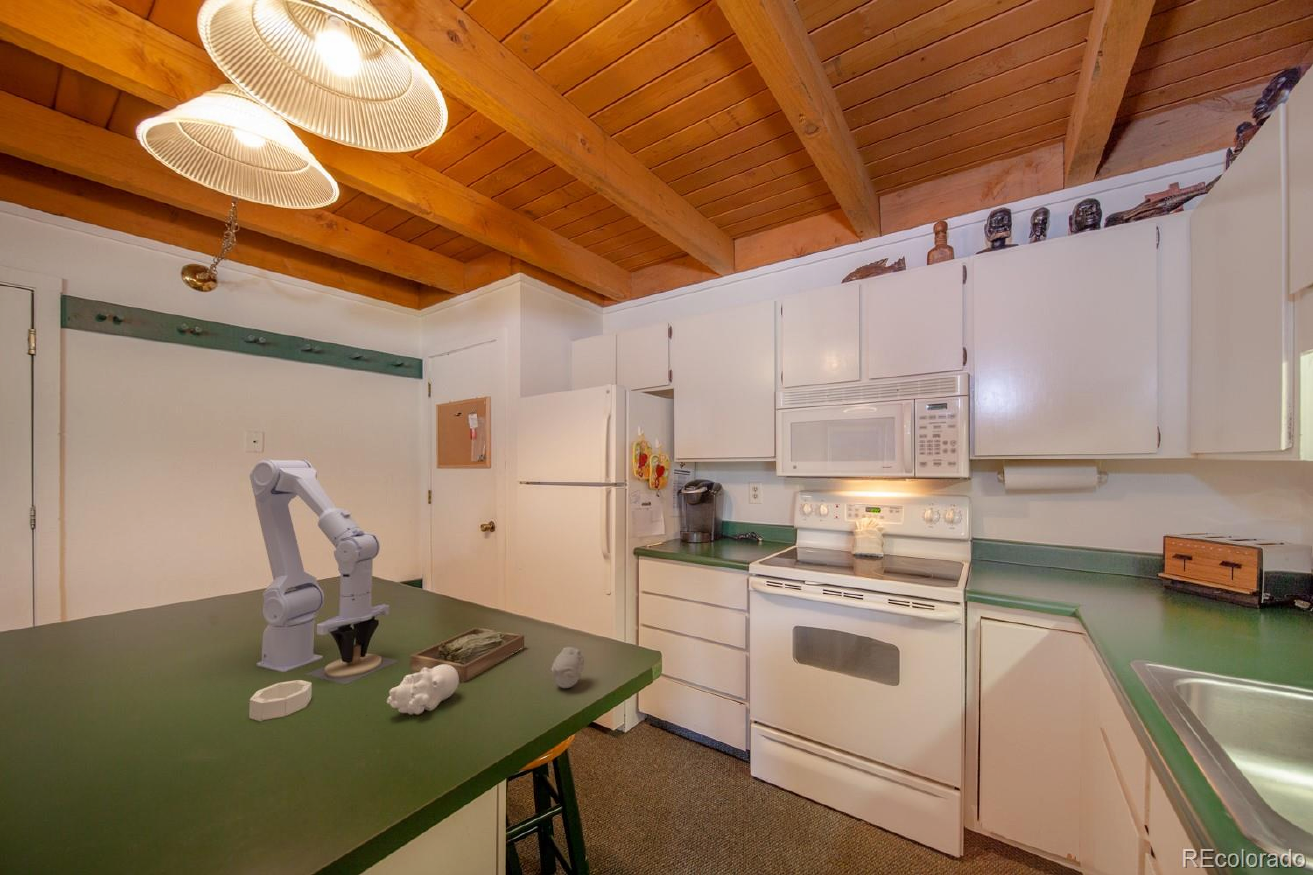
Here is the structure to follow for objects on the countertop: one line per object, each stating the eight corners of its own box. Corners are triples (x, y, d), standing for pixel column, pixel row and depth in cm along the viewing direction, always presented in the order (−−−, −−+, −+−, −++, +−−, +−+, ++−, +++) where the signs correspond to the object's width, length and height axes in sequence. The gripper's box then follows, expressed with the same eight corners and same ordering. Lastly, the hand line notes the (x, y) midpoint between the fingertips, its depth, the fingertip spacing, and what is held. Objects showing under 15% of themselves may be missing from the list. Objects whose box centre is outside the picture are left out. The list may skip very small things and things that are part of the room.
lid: (313, 672, 97) (313, 651, 98) (359, 654, 107) (360, 635, 107) (346, 681, 94) (347, 658, 94) (392, 661, 103) (392, 641, 103)
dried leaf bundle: (452, 678, 96) (452, 650, 96) (432, 664, 103) (432, 638, 103) (516, 656, 107) (516, 632, 107) (494, 645, 113) (494, 622, 114)
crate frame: (409, 670, 99) (409, 655, 99) (474, 639, 116) (475, 627, 116) (463, 682, 94) (464, 666, 94) (524, 648, 111) (524, 635, 111)
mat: (304, 675, 97) (304, 674, 97) (360, 653, 108) (361, 652, 108) (344, 685, 92) (344, 684, 92) (399, 662, 103) (399, 660, 103)
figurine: (472, 684, 87) (412, 709, 77) (453, 706, 89) (392, 733, 78) (455, 651, 90) (395, 671, 80) (437, 673, 92) (376, 695, 81)
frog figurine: (590, 681, 94) (591, 645, 94) (570, 697, 87) (570, 658, 88) (565, 676, 96) (565, 640, 97) (543, 690, 90) (543, 653, 90)
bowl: (240, 714, 82) (241, 696, 82) (291, 694, 89) (292, 677, 89) (269, 724, 79) (270, 705, 79) (319, 702, 86) (320, 684, 86)
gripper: (334, 604, 93) (331, 676, 92) (399, 586, 106) (398, 649, 105) (310, 600, 95) (308, 670, 95) (377, 583, 109) (375, 644, 108)
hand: (353, 658), depth 100 cm, fingers closed on lid, 2 cm apart
